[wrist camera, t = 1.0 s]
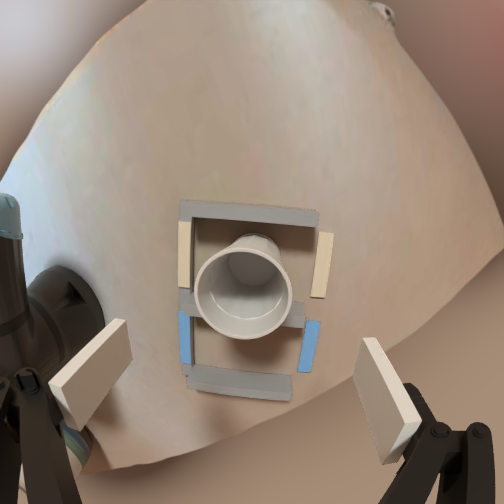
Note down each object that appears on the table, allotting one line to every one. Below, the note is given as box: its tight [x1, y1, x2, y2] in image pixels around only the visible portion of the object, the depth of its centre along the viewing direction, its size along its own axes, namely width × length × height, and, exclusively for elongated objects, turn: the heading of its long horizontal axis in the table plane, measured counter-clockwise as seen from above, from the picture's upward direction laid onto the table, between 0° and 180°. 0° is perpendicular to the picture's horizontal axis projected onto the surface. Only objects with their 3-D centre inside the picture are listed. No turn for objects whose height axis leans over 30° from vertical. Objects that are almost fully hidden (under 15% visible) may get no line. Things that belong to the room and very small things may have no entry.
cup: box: [194, 233, 292, 339], centre depth 29 cm, size 8×8×12 cm
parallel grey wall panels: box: [178, 200, 334, 401], centre depth 34 cm, size 18×24×4 cm
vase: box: [19, 418, 92, 494], centre depth 36 cm, size 17×17×24 cm
